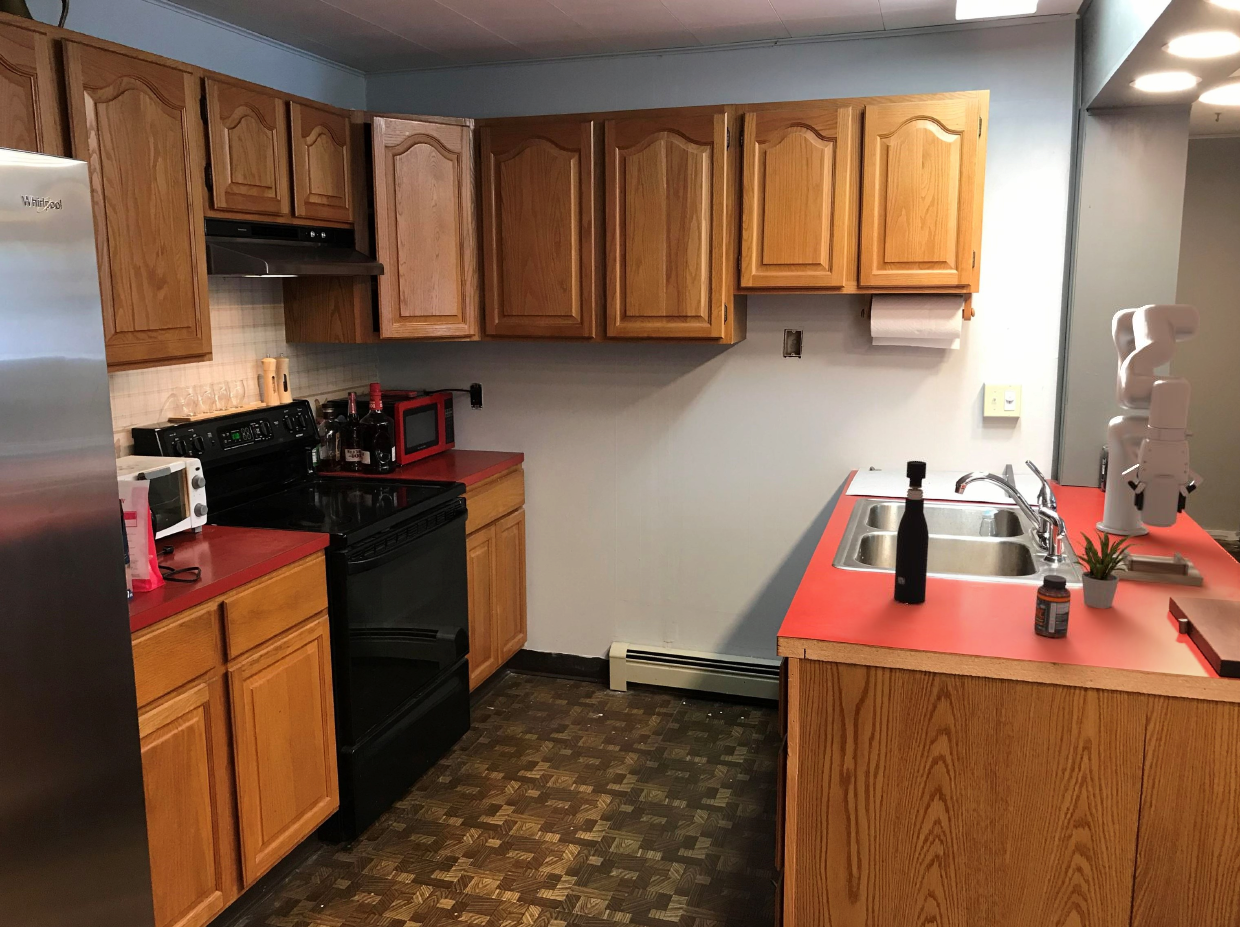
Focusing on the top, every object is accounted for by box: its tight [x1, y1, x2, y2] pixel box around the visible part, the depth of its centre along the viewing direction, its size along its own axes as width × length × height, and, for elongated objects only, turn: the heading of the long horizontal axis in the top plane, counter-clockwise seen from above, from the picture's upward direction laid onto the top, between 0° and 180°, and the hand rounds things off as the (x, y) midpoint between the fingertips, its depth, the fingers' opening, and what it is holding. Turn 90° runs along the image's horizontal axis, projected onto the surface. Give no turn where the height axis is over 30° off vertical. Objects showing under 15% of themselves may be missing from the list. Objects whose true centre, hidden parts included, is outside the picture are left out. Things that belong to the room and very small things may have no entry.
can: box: [1139, 475, 1180, 528], centre depth 222 cm, size 8×8×12 cm
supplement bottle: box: [1033, 574, 1071, 639], centre depth 187 cm, size 6×6×11 cm
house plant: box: [1068, 527, 1143, 609], centre depth 203 cm, size 14×14×16 cm
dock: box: [1108, 547, 1204, 587], centre depth 226 cm, size 16×18×4 cm
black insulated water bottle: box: [893, 460, 930, 605], centre depth 205 cm, size 6×6×30 cm
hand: (1158, 510), depth 223 cm, fingers closed on can, 7 cm apart
